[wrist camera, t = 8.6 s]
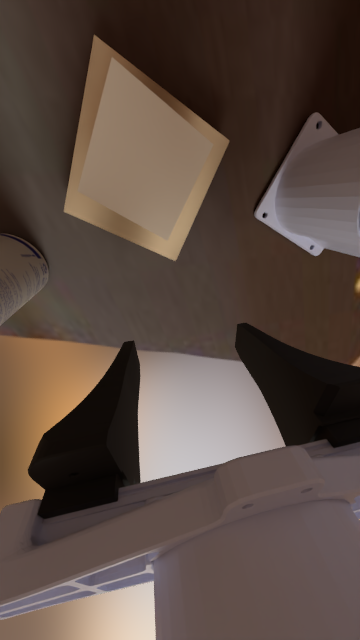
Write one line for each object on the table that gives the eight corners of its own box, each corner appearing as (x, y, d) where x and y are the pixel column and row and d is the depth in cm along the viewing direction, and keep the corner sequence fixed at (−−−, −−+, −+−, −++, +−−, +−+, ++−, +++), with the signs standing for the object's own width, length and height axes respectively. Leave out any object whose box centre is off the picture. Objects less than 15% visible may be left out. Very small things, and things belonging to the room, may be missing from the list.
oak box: (215, 150, 16) (229, 140, 13) (171, 253, 20) (175, 261, 17) (103, 67, 13) (94, 34, 10) (75, 209, 16) (63, 211, 14)
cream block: (191, 161, 14) (213, 144, 9) (160, 230, 16) (167, 240, 11) (122, 108, 12) (111, 56, 8) (96, 193, 14) (77, 191, 9)
